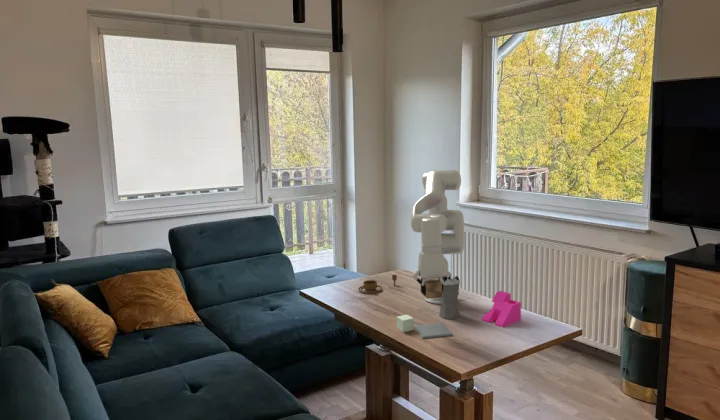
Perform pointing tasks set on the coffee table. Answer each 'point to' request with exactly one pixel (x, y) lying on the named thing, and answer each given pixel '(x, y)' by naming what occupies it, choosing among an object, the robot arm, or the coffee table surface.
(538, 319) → the coffee table surface
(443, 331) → the slate coaster
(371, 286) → the place setting
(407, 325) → the pale green block
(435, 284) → the walnut cube
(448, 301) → the coffeepot
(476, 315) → the coffee table surface
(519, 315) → the pink angular chunky piece
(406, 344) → the coffee table surface
